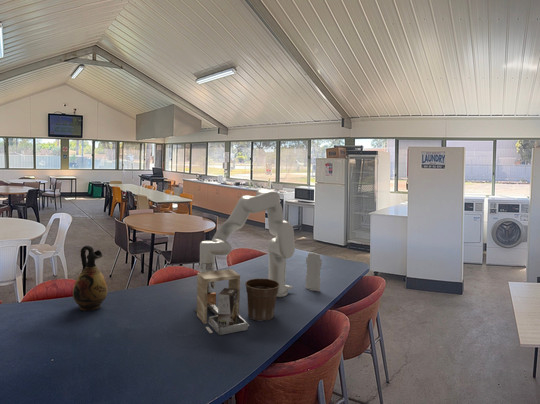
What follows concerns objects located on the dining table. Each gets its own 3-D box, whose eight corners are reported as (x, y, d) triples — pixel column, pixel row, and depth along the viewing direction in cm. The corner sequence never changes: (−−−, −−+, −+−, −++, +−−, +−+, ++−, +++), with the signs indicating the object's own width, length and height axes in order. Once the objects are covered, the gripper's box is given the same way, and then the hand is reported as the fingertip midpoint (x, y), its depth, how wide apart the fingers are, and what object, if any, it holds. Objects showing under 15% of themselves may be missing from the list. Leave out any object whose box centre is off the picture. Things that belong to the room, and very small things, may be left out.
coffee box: (231, 331, 163) (232, 295, 161) (217, 330, 164) (217, 293, 162) (237, 323, 171) (238, 288, 170) (223, 321, 173) (224, 287, 171)
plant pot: (282, 312, 185) (284, 280, 184) (272, 325, 170) (273, 290, 168) (251, 307, 190) (252, 276, 189) (238, 319, 175) (239, 285, 174)
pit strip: (224, 305, 193) (224, 304, 193) (226, 307, 190) (226, 306, 190) (193, 310, 185) (193, 309, 185) (195, 312, 183) (195, 311, 183)
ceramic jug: (114, 304, 189) (114, 245, 186) (88, 315, 175) (87, 251, 172) (90, 298, 196) (89, 241, 193) (63, 308, 182) (61, 247, 180)
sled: (220, 304, 194) (221, 291, 193) (247, 329, 164) (248, 315, 164) (195, 307, 187) (195, 295, 187) (219, 335, 158) (219, 320, 158)
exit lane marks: (243, 320, 174) (243, 320, 174) (249, 325, 169) (249, 325, 169) (205, 327, 166) (205, 327, 166) (210, 333, 160) (210, 332, 160)
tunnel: (230, 309, 187) (231, 269, 185) (239, 317, 177) (240, 275, 176) (196, 315, 179) (197, 272, 177) (204, 324, 170) (204, 279, 168)
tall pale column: (303, 288, 224) (304, 251, 221) (306, 286, 227) (308, 250, 225) (318, 292, 217) (320, 254, 215) (322, 290, 220) (323, 253, 218)
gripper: (219, 268, 186) (218, 304, 188) (209, 261, 199) (209, 295, 201) (204, 269, 183) (204, 306, 185) (195, 262, 196) (195, 297, 198)
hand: (206, 300), depth 193 cm, fingers closed
